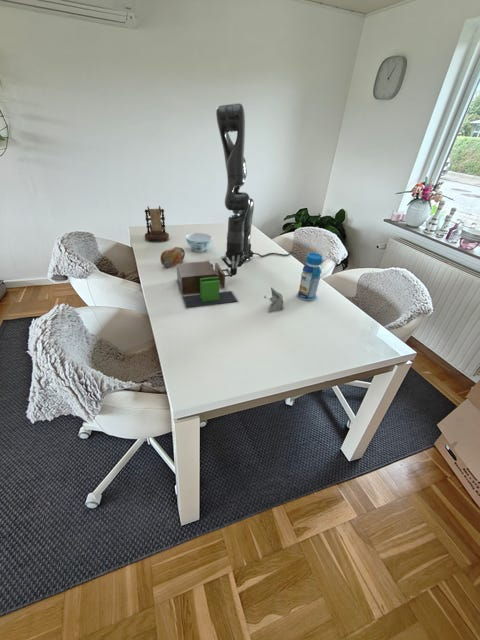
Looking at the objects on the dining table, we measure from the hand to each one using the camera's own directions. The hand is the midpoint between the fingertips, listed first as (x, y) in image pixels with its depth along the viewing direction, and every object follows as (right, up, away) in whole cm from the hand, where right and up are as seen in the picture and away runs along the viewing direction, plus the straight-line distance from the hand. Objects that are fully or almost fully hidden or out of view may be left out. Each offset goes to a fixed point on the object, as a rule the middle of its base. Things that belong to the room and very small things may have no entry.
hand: (233, 274), depth 145 cm
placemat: (-10, -13, -13) cm, 21 cm away
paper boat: (+17, -16, -14) cm, 27 cm away
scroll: (-49, +30, +46) cm, 74 cm away
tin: (-33, +8, +15) cm, 37 cm away
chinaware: (-21, +20, +35) cm, 45 cm away
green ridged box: (-10, -12, -13) cm, 21 cm away
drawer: (-11, -4, -2) cm, 12 cm away
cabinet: (-17, -6, -3) cm, 18 cm away
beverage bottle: (+34, -11, -6) cm, 36 cm away
